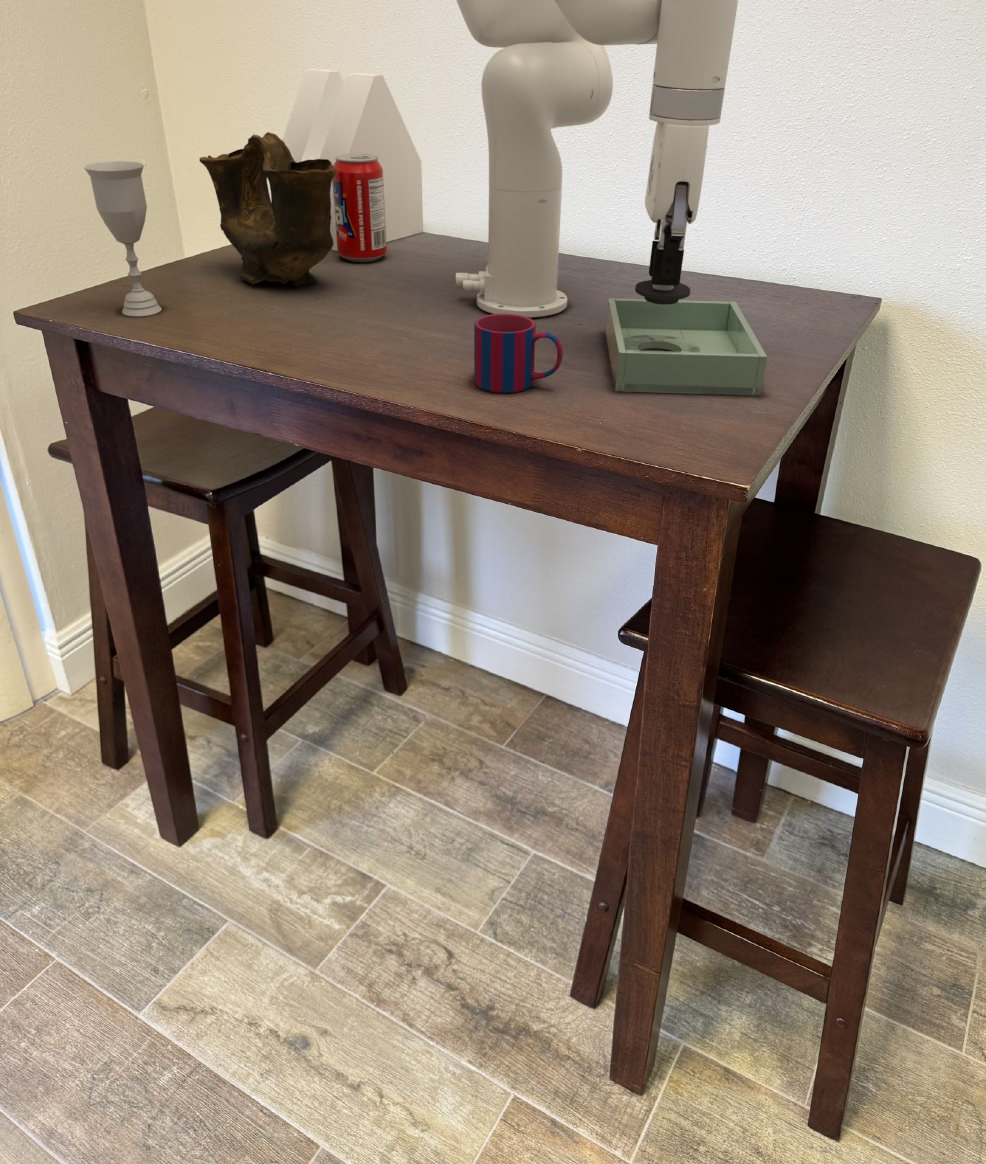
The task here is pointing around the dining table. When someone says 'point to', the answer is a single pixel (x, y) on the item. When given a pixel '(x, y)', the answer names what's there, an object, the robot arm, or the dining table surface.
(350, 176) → the soda can
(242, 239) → the pottery vessel
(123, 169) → the chalice
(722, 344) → the sink floor
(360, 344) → the dining table surface
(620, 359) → the sink
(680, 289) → the plug
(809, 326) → the dining table surface
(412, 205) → the white twin peaked block
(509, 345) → the mug
